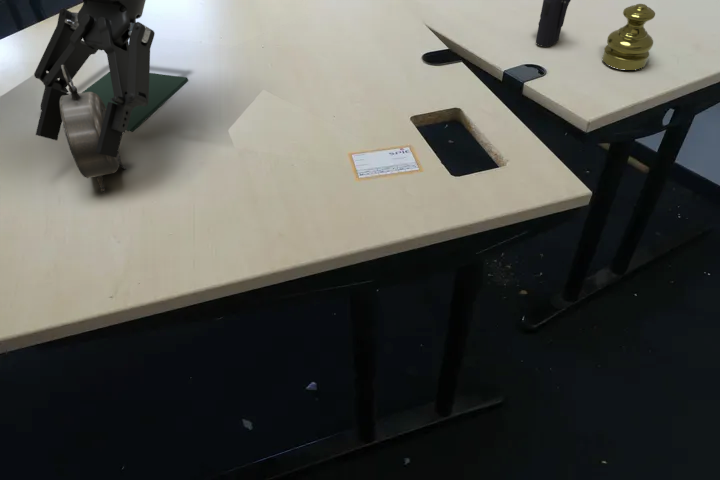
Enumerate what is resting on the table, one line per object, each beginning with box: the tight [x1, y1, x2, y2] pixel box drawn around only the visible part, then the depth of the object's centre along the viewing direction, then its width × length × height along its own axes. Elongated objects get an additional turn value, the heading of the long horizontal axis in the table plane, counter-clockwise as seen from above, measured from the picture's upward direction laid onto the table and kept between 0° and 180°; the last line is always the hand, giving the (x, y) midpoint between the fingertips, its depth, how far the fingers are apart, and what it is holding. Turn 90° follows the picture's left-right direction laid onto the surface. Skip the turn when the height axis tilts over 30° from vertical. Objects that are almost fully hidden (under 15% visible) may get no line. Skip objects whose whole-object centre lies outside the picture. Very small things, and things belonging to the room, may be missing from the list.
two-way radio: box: [535, 0, 572, 47], centre depth 97 cm, size 6×4×15 cm
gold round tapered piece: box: [601, 3, 656, 71], centre depth 92 cm, size 7×7×10 cm
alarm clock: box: [60, 65, 127, 194], centre depth 70 cm, size 11×5×16 cm, turn 21°
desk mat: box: [81, 71, 189, 133], centre depth 93 cm, size 16×18×1 cm
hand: (75, 146), depth 69 cm, fingers closed on alarm clock, 10 cm apart
